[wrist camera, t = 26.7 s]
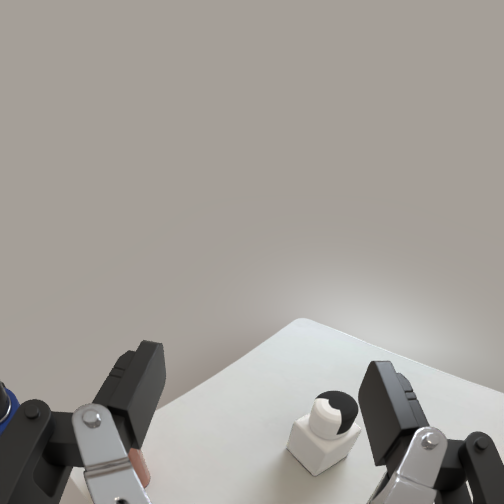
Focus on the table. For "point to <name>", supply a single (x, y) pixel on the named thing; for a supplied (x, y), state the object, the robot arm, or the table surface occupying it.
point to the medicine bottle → (325, 432)
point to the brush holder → (139, 466)
